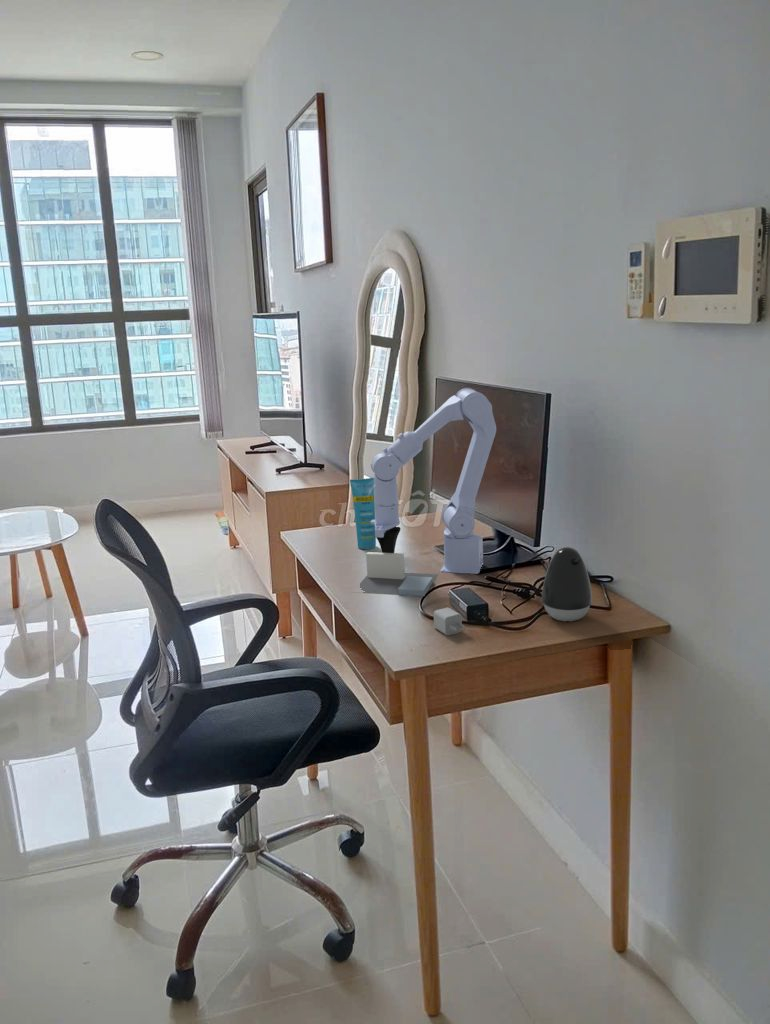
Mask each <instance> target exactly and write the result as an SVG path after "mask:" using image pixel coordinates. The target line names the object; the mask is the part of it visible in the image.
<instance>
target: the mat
mask: <svg viewBox="0 0 770 1024" xmlns="http://www.w3.org/2000/svg"><path fill="white" fill-rule="evenodd" d="M407 576H420V577H433V583H434V582H435V580H436V579H437V578H438V576H439V573H437V574H436V573H435V574H434V573H419V572H418V573H416V572H405V578H404V579H389V578H370V577H367V575H366V576H364V578H363V579H362V580H361V582H360V583H359V584H360V588H362V589H361V590H363V591H365V592H363V594H374V595H375V594H376V595H392V596H393V595H395V596H399V595H398V588H399V587H400V586H401V584H402V583H403V582H404V580H405V579H406V578H407ZM429 589H430V588H429ZM429 589H428V591H429ZM428 591H427V592H426V594H427V593H428ZM406 596H409V597H412V596H411V595H406Z"/></svg>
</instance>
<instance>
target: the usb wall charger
mask: <svg viewBox="0 0 770 1024" xmlns="http://www.w3.org/2000/svg"><path fill="white" fill-rule="evenodd" d="M462 620H463V618H462V614H460V613H459V612H457V611H456V610H454V609H452V608H450V607H448V606H447V607H443V608H440V609H436V610H434V612H433V627H434V629H436V630H437V631H440V632H441V633H442V634H444V635H445V636H450V635H454V634H457V633H461V631H462V629H463V630H465V629H466V626H465V625H464V624H463V621H462Z"/></svg>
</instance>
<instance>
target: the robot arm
mask: <svg viewBox="0 0 770 1024" xmlns="http://www.w3.org/2000/svg"><path fill="white" fill-rule="evenodd" d="M494 417H495V416H494V413H493V405H492V403H491V402H490V400H489V399H488V398H487V397H486V395H485V394H483V393H482V392H478V391H477V390H475V389H474V388H471V387H465V388H461V389H460V390H458V391H457V393H456V394H455V395H452V396H451V397H449V398H448V399H447V400H446V401H445V402H444V403H442V405H441V406H440V407H439V408H438V409H437V410H435V411H434V413H432V414H431V415H430V416H429V417H428V418H427V419H426V420H425V421H424V422H423V423H422V424H421V425H420V426H418V427H417V429H415V430H414V431H405V432H404V433H402V432H400V433H399V434H398V435H397V438H396V440H394V442H393V443H392V444H390V445H389V446H388V447H384V448H382V452H381V453H378V454H375V456H374V457H373V458H372V460H371V464H370V469H371V471H372V472H373V473H374V474H373V478H374V506H375V520H371V521H370V522H371V524H374V525H375V531H374V535H375V537H376V541H378V543H379V547H380V549H381V553H395V549H396V544H397V540H398V536H399V534H400V532H401V529H402V528H401V527H400V524H401V523H400V522H401V521H400V513H399V491H398V483H397V476H398V475H399V472H400V468H403V467H405V465H406V464H408V463H409V462H410V461H411V460H412V459H413V458H414V457H416V456H417V455H418V454H419V453H420V452H421V451H422V450H423V446H424V442H425V441H426V440H428V439H429V438H430V437H431V436H433V435H434V434H436V433H437V432H438V431H439V430H441V429H442V428H443V427H444V426H446V425H447V424H448V423H450V422H453V421H455V422H456V421H464V418H465V419H466V421H467V422H468V424H469V425H470V427H471V429H472V430H473V433H472V436H471V439H470V443H469V446H468V449H467V453H466V456H465V459H464V462H463V466H462V468H461V473H460V475H459V479H458V481H457V482H458V483H457V486H456V489H455V492H454V493H453V495H452V496H451V497H450V500H449V502H448V504H447V505H446V506H445V507H444V509H443V510H442V513H441V519H442V522H443V524H444V525H445V529H444V531H443V554H444V555H443V558H444V560H443V561H444V563H443V565H442V567H441V569H440V570H439V572H440V573H455V574H456V573H457V574H474V575H475V574H476V575H477V574H480V571H481V570H482V568H483V566H484V544H483V543H484V541H483V536H482V535H481V534H476V533H474V529H475V525H476V524H475V513H476V498H477V495H478V492H479V488H480V484H481V483H482V478H483V476H484V472H485V469H486V465H487V462H488V459H489V457H490V456H489V455H490V453H491V449H492V447H493V443H494V439H495V437H496V433H497V424H496V421H495V418H494ZM482 565H483V566H482ZM481 567H482V568H481ZM480 569H481V570H480Z"/></svg>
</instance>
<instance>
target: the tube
mask: <svg viewBox="0 0 770 1024" xmlns="http://www.w3.org/2000/svg"><path fill="white" fill-rule="evenodd" d="M349 484H350V487H351V493H352V501H353V502H352V503H353V508H354V509H353V512H354V518H355V519H354V521H355V530H356V538H357V540H356V541H357V547H358V549H360V550H371V549H374V548H376V546H377V538H376V537H375V535H374V531H375V525H374V524H371V522H370V521H371V520H375V506H374V477H369V478H357V479H349Z"/></svg>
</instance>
